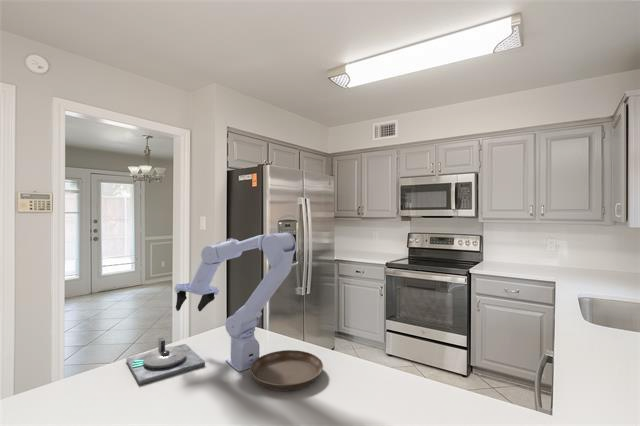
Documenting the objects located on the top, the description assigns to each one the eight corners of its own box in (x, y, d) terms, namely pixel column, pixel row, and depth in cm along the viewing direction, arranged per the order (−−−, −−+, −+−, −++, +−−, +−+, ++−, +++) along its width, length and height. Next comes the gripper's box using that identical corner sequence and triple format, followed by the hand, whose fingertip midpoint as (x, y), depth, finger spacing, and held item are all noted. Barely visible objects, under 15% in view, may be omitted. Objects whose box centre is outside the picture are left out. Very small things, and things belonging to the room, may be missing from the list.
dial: (191, 360, 102) (191, 344, 102) (148, 372, 95) (148, 354, 95) (179, 348, 111) (179, 333, 111) (139, 358, 104) (139, 342, 104)
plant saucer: (314, 400, 84) (314, 387, 84) (238, 391, 88) (238, 378, 88) (328, 363, 104) (328, 353, 104) (266, 357, 108) (266, 347, 108)
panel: (204, 365, 102) (205, 360, 102) (139, 385, 90) (139, 379, 90) (185, 347, 116) (185, 342, 116) (126, 362, 104) (126, 357, 104)
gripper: (219, 271, 119) (205, 302, 122) (179, 267, 109) (164, 300, 112) (226, 284, 114) (210, 315, 117) (184, 280, 104) (168, 314, 107)
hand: (188, 309), depth 114 cm, fingers open, 7 cm apart
